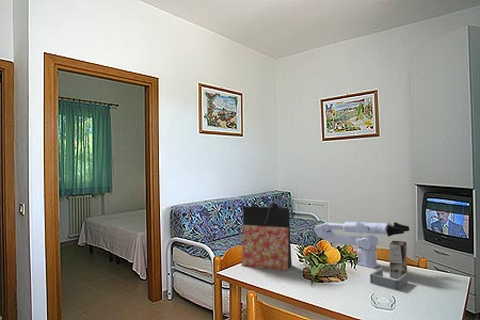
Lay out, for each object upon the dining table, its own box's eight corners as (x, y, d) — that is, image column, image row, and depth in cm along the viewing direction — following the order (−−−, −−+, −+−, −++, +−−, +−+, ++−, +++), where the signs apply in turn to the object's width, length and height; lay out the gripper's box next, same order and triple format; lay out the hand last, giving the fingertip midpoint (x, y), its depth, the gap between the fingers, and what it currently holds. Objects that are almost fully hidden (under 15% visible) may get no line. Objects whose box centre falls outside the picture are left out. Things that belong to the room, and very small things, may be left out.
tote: (370, 283, 142) (370, 274, 142) (380, 276, 151) (380, 267, 151) (397, 290, 134) (397, 281, 134) (407, 282, 142) (407, 274, 142)
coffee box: (404, 280, 145) (403, 245, 145) (389, 277, 149) (388, 243, 149) (407, 274, 152) (406, 241, 153) (393, 271, 156) (392, 239, 156)
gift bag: (239, 267, 167) (238, 202, 167) (248, 259, 180) (247, 199, 181) (293, 273, 156) (292, 204, 157) (298, 264, 170) (297, 201, 170)
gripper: (372, 222, 159) (400, 223, 149) (383, 219, 169) (410, 219, 159) (373, 236, 158) (401, 238, 148) (384, 232, 168) (412, 233, 158)
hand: (406, 229), depth 154 cm, fingers open, 7 cm apart
